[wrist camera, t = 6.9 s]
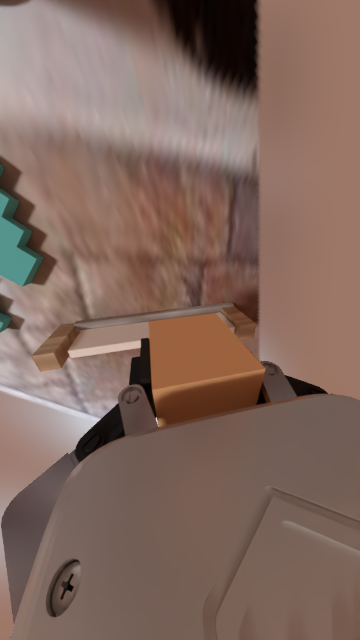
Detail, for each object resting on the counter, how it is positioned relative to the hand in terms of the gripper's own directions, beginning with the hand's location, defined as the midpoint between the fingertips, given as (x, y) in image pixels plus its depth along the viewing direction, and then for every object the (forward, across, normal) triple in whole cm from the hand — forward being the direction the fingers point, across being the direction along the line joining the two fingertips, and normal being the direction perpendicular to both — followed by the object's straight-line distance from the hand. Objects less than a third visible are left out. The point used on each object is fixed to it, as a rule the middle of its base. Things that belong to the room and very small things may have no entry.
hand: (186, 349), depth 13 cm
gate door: (+15, +2, +6) cm, 17 cm away
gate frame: (+17, +3, +6) cm, 18 cm away
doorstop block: (+1, 0, 0) cm, 1 cm away
